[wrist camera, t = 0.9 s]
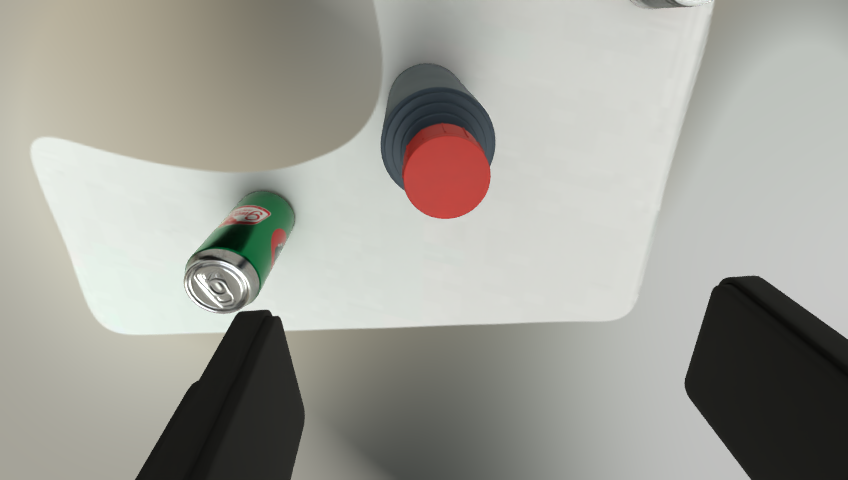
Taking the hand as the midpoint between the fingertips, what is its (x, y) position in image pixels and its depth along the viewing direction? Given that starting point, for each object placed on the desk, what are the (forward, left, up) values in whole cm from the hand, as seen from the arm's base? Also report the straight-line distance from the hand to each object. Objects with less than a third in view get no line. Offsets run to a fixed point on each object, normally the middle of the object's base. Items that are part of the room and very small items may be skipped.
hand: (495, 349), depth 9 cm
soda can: (-7, -16, -30) cm, 34 cm away
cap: (0, 0, -12) cm, 12 cm away
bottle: (0, 0, -29) cm, 29 cm away
